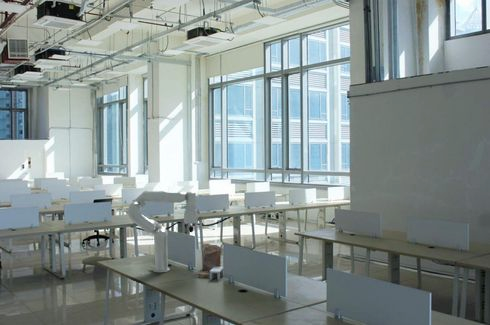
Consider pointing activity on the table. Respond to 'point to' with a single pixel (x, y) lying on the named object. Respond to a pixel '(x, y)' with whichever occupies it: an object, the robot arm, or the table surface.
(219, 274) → the bridge
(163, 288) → the table surface
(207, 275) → the panel
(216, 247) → the stone
